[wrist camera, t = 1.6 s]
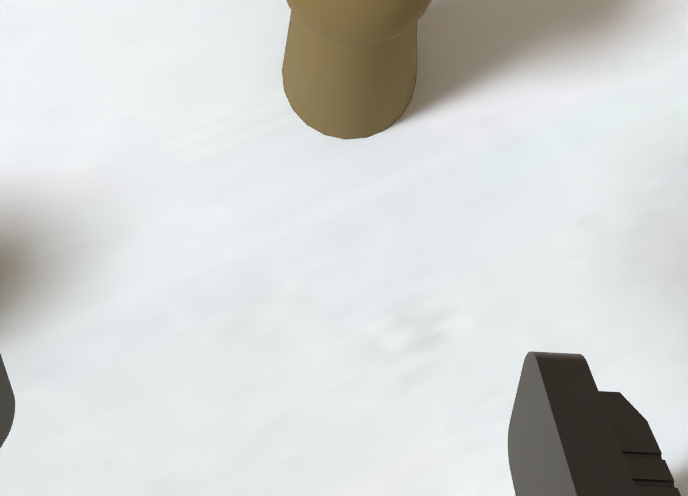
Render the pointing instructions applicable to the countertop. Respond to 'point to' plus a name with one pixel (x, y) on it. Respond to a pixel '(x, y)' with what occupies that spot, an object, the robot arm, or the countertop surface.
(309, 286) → the countertop surface
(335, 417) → the countertop surface
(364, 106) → the olive pawn figure
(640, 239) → the countertop surface
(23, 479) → the countertop surface
